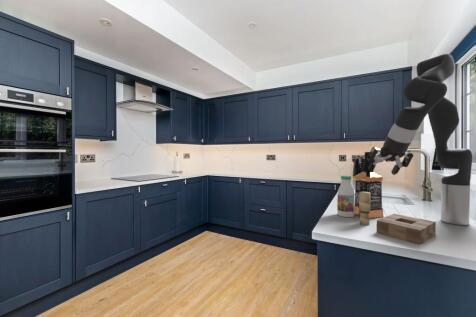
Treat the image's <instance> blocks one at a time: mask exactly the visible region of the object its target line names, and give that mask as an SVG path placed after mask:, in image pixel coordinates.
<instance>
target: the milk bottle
mask: <svg viewBox="0 0 476 317" xmlns="http://www.w3.org/2000/svg"><path fill="white" fill-rule="evenodd" d="M340 180H341V182H340V185H339V187H338V190H337V199H336V200H337V204H336V206H337V210H336V211H337V213H336V214H337V215H338V216H339V217H341V218H354V217H355V214H354V206H355V189H354V188H353V186H352V176H351V175H341V176H340Z"/></svg>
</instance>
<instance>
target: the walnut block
mask: <svg viewBox="0 0 476 317" xmlns="http://www.w3.org/2000/svg"><path fill="white" fill-rule="evenodd" d="M436 223H437V222H436V221H433V220H428V219H424V218H418V217H412V216H408V215H403V214H397V213H392V214H389V215H386V216H383V217H380V218H378V219H376V233H377V234H380V235H384V236H387V237H391V238H396V239H399V240H403V241H405V242H409V243H414V244H417V245H422V244H424V243H425V242H427V241H428V240H430V239H431V238H433V237H434V236H436V228H437V227H436V226H437V225H436Z"/></svg>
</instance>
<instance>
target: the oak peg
mask: <svg viewBox="0 0 476 317" xmlns="http://www.w3.org/2000/svg"><path fill="white" fill-rule="evenodd" d="M370 204H371V193H370V192H359V211H360V216H359V225H363V226H369V225H370V218H369V213H370Z"/></svg>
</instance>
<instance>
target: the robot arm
mask: <svg viewBox="0 0 476 317" xmlns="http://www.w3.org/2000/svg"><path fill="white" fill-rule="evenodd" d="M454 72H455V61H454V57H453V56H452V55H451V54H449V53H444V54H440V55H436V56H434V57H431V58H428V59H425V60H422V61H420V62H418V63H417V64H416V77H413V78H412V79H410V81H409V82H408V83H407V84H406V85H405V86H404V88H403V90H402V95H403V98H404V99H405V100H407V101H410V102H412V103H413V102H414V103H416V104H417V103H418V104H421V106H418V107H413V106H412V107H411V106H408V107H407V106H406V107H403V108H402V109H401V110H400V111H399V113H398V114H397V117H396V120H395V122H394V124H393V125H392V126H391V128H390V130H389V132H388V134H387V136H386V138H385V139H384V143H383V145H382V147H381V148H378V147H376V146H373V147H371V149H370V151H369V152H370V153H369V155H368V157H367V160H368V162H369V163H370V165H369V167H368V168H369V170H370V172H373V171H374V170H375V167H377V166H376V165H378V164H379V163H382V162H384V161H385V162H391V163H393V162H395V164H394V166H393V168H392V169H391V174H392V175H393V176H396V175H397V174H398V173H399V171H400V170H401V169H402V168H403V167H404V168H408V167H409V166H410V163H411V161H412V160H413V157H414V153H412V152H411V151H410V150H408V149H409V148H410V146H411V144H412V142H413V140H414V139H415V136H416V135H417V132H418V130H419V128H420V127H421V124H422V123H423V121H424V120H425V118H426V116H428V120H429V125H430V127H431V131H432V134H433V139H434V145H435V152H436V160H437V163H438V166H439V167H440V168H441V169H446V170H447V169H448V170H458V171H457V172H456V173H455V174H452V175H447V176H443V177H442V178H441V187H440V188H441V195H440V198H441V199H440V201H441V202H440V220H441V222H444V223H447V224H451V225H457V226H458V225H459V226H469V225H470V208H471V207H470V206H471V204H470V203H471V202H470V201H471V197H470V196H471V179H472V166H473V152H472V151H471V149H469V148H449V147H448V142H449V139H450V138H451V136H452V134H453V133H454V132H455V130H456V129H457V127H458V125H459V124H460V116H459V112H458V107H457V106H456V104H454V103H453V102H452V101H451V100H450V99H448V98H447V97H445V96H446V94H447V92H448V87H447V84H446V83H444V82H445V81H446V80H447V79H449V78H450V77H452V76H453V74H454ZM422 104H423V105H422ZM401 158H403V159H402V161H401Z"/></svg>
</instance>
